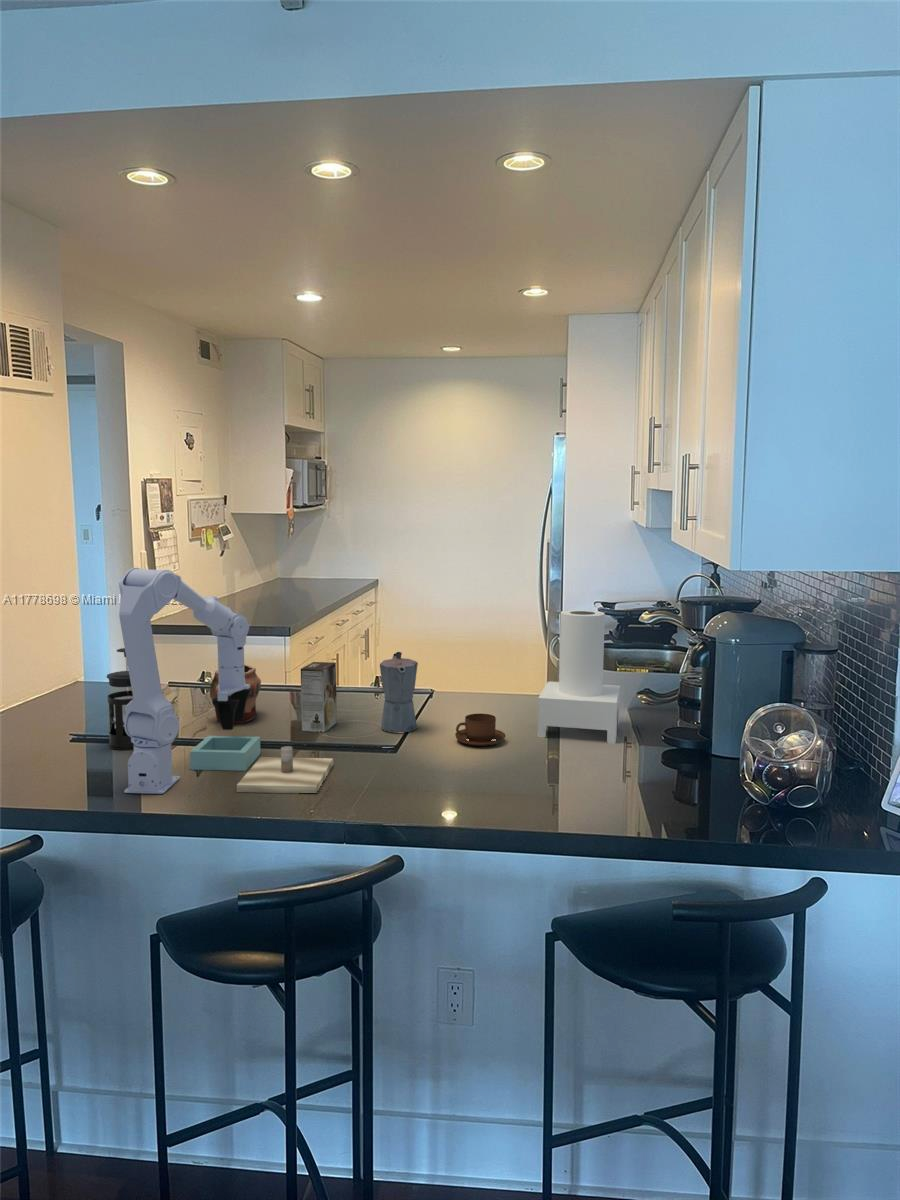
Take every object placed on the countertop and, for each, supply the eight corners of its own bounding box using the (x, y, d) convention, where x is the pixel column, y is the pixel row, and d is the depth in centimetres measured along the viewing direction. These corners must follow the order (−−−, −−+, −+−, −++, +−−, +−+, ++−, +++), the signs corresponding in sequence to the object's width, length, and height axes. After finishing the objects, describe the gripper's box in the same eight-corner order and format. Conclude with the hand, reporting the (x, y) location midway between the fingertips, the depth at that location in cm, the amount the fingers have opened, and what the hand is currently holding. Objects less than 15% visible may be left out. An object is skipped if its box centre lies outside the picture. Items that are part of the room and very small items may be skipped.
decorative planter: (244, 732, 213) (242, 677, 211) (197, 730, 214) (195, 676, 212) (270, 712, 232) (269, 661, 231) (226, 710, 234) (225, 660, 232)
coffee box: (314, 721, 223) (313, 661, 221) (337, 723, 222) (336, 662, 220) (301, 731, 214) (300, 668, 212) (325, 732, 213) (324, 669, 211)
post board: (316, 793, 170) (316, 762, 169) (236, 792, 171) (236, 760, 170) (333, 765, 188) (332, 736, 187) (261, 763, 189) (260, 734, 188)
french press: (98, 749, 198) (93, 651, 195) (119, 737, 208) (115, 644, 205) (145, 751, 197) (141, 653, 194) (165, 740, 206) (161, 645, 203)
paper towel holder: (537, 737, 210) (539, 616, 206) (547, 718, 228) (549, 606, 224) (615, 743, 206) (619, 619, 202) (618, 723, 224) (622, 609, 220)
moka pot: (385, 738, 208) (384, 657, 206) (373, 721, 223) (373, 646, 221) (423, 735, 211) (423, 655, 208) (409, 719, 226) (409, 644, 223)
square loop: (245, 770, 184) (245, 752, 183) (190, 769, 184) (189, 751, 184) (260, 753, 196) (260, 736, 195) (208, 752, 196) (208, 735, 196)
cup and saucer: (477, 752, 198) (478, 726, 197) (445, 741, 207) (445, 716, 206) (515, 743, 206) (515, 718, 205) (482, 732, 215) (482, 708, 214)
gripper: (239, 672, 185) (241, 733, 187) (257, 659, 200) (259, 716, 201) (207, 672, 186) (209, 733, 187) (227, 659, 200) (229, 715, 202)
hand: (233, 724), depth 194 cm, fingers open, 7 cm apart
